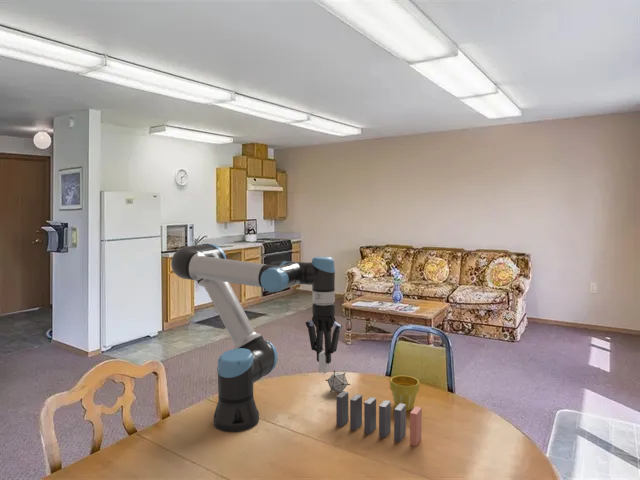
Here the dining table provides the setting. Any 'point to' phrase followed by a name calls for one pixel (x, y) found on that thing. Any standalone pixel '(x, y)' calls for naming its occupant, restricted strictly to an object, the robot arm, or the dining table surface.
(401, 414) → the domino
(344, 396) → the domino
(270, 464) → the dining table surface
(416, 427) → the domino
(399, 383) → the plant pot
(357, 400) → the domino
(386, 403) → the domino
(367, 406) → the domino
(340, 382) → the game die
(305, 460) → the dining table surface
